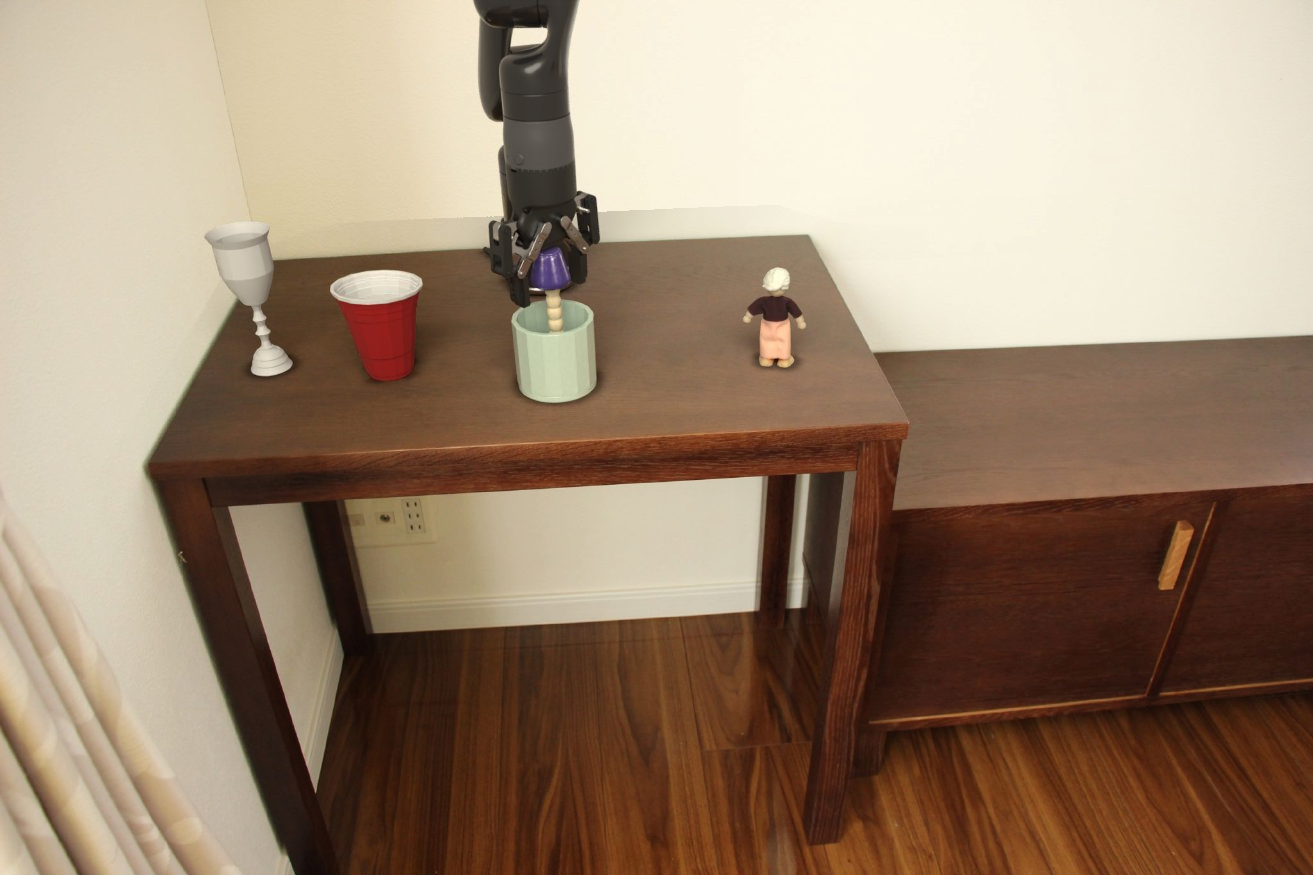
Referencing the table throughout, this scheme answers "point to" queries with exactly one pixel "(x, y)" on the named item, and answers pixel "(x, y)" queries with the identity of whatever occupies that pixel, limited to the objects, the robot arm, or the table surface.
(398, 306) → the plastic cup
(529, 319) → the glazed cup
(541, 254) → the toy lamp
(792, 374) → the table surface
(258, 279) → the chalice
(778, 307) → the grandmother figurine
